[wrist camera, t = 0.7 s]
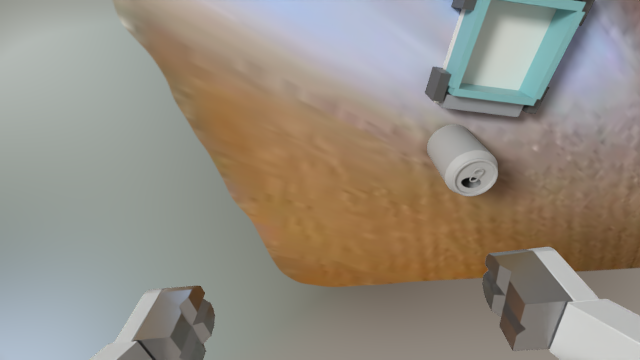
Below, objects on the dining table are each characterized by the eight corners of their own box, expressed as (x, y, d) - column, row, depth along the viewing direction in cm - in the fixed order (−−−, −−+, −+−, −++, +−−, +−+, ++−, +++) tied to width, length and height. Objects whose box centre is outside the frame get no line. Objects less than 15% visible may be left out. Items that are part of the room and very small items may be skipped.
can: (419, 158, 55) (440, 197, 45) (434, 119, 51) (461, 152, 41) (459, 164, 56) (489, 203, 46) (477, 125, 52) (513, 160, 42)
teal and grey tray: (464, -37, 40) (483, -40, 35) (581, -20, 41) (614, -20, 36) (423, 98, 49) (433, 110, 45) (518, 110, 50) (538, 123, 46)
